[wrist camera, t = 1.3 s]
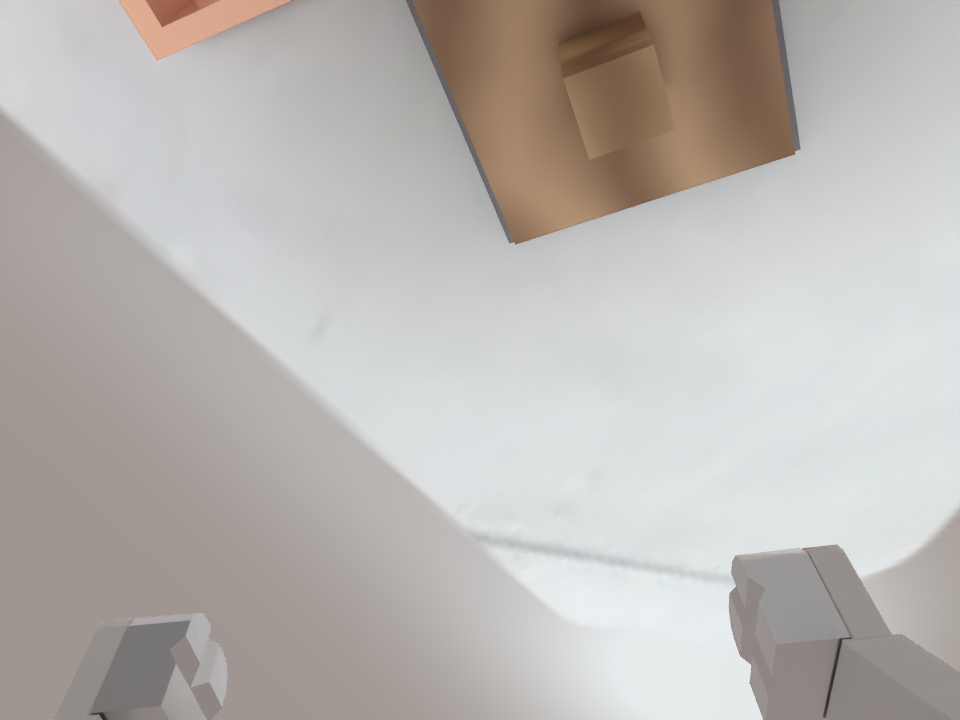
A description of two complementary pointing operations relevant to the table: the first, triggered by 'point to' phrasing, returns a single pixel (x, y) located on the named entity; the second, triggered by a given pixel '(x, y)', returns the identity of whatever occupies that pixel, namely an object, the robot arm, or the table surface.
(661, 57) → the lid
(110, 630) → the robot arm
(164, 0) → the pink shallow box
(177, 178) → the table surface
